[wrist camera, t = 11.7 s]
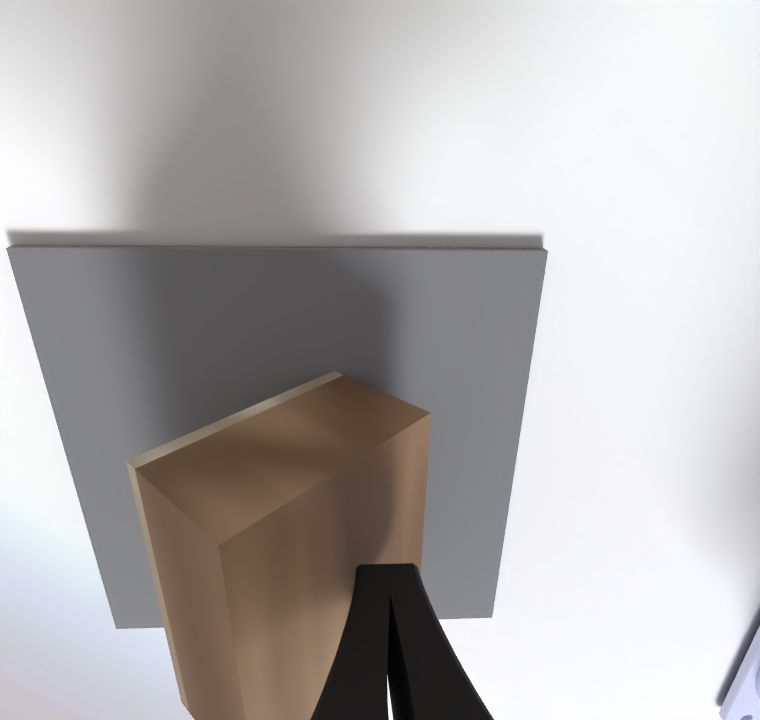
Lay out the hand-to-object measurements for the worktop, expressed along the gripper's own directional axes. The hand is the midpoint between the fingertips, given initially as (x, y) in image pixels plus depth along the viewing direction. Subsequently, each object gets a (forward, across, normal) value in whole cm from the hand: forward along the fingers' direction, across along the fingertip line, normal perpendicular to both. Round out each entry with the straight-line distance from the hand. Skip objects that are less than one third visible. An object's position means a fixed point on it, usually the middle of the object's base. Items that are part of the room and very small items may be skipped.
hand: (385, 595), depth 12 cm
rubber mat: (+5, +2, 0) cm, 6 cm away
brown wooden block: (+4, 0, 0) cm, 4 cm away
